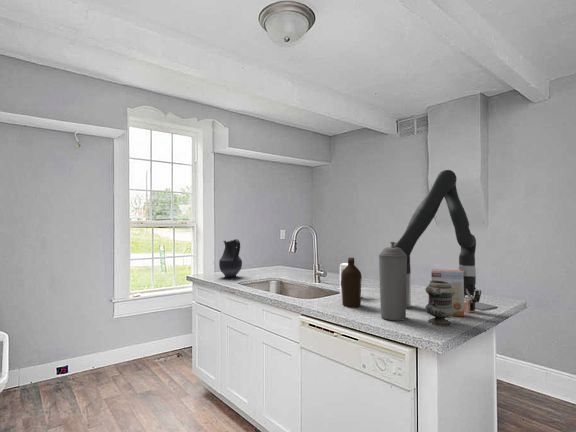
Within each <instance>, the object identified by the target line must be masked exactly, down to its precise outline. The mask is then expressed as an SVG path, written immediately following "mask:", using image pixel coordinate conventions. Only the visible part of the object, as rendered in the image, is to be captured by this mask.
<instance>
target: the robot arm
mask: <svg viewBox="0 0 576 432" xmlns="http://www.w3.org/2000/svg"><path fill="white" fill-rule="evenodd" d="M457 179H458V177H457V175H456V173H455V172H454V171H453V170H451V169H443V170H442V171H440V172H439V173H438V174H437V176H436V178H435V180H434V182H433V184H432V185H431V189H430V190H429V192H428V193H427V194H426V195H425V197H424V198H423V200H422V201H421V202H420V204H419V205H418V206H417V208H416V210H415V211H414V213H413V214H412V215H411V218H410V219H409V222H408V224H407V227H406V229H405V231H404V233H403V234H402V236H401V237H400V238H399V240H397V242H395V243H394V246H395V247H398V248H401V249H402V250H403V252H405V254H406V255H407V282H406V309H407V308H411V307H412V305H411V304H412V302H411V301H412V299H411V298H412V297H411V295H412V286H411V285H412V283H411V281H412V280H411V275H412V274H411V269H412V268H411V254H412V251H413V249H414V247H415V245H416V244H417V242H418V240H419V239H420V237H421V236H422V235H423V234H424V233H425V231H426V230H427V228H428V227H429V225H430V224H431V222H432V221H433V219H434V218H435V216H436V215H437V212H438V210H439V208H440V205H441V203H442V202H443V201H444V200H445V202H446V205H447V209H448V212H449V217H450V219H451V222H452V225H453V228H454V232H455V237H456V238H455V239H456V241H457V243H458V245H459V246H460V253H459V257H458V270H463V272H464V298H465V297H468V298H469V299H470V302H471V303H470V310H471V311H474V310H475V311H476V309H475V303H476V302H480V300H481V296H482V289H481V290H479V289H476V283H477V282H476V281H477V279H476V276H477V273H476V271H477V270H476V250H477V239H476V237H475V235H473V234H472V232H471V229H470V222H469V219H468V216H467V213H466V210H465V208H464V205H463V204H462V202H461V200H460V197H459V193H458V190H457ZM472 299H473V300H472Z"/></svg>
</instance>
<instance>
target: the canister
mask: <svg viewBox="0 0 576 432" xmlns="http://www.w3.org/2000/svg"><path fill="white" fill-rule="evenodd" d="M389 243H390V245H391V246H388V247H385V248H383V249H382V250H381V252H380V253H378V263H379V264H378V268H379V269H378V270H379V271H378V273H379V297H380V299H379V301H380V316H381V318H382V317H383V318H382V319H384V318H385V319H384V320H387V319H390V320H389V321H393V320H399V321H404V320H406V317H407V313H406V312H407V308H406V282H407V255H406V254H405V252H403V250H402V249H401V248H398V247H395V246H394V244H395V243H396V241H390V242H389ZM403 319H404V320H403Z"/></svg>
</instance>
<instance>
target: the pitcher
mask: <svg viewBox="0 0 576 432" xmlns="http://www.w3.org/2000/svg"><path fill="white" fill-rule="evenodd" d="M223 243H224V249H223V252H222V255H221V258H220V259H219V260H218V261H219V263H218V265H219V269H220V270H219V271H220V272H221V273H222V274H223V275H224V279H226V278H229V279H228V280H231V279H230V278H234V279H237V278H238V276H237V275H238V274H239V273H240V271H241V270H242V266H243V260H242V259H241V257H240V251H241V241H240V240H239V239H237V238H236V239H235V238H234V239H231V240H228V241H226V240H223Z"/></svg>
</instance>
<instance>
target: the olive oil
mask: <svg viewBox="0 0 576 432" xmlns="http://www.w3.org/2000/svg"><path fill="white" fill-rule="evenodd" d="M347 263H348V265H347V267H346V268H345V269H344V270H343V271H342V274H341V283H342V296H341V301H342V306H343V305H344V306H343V307H345V306H349V307H348V308H358V307H357V306H359V307H361V306H360V305H362V304H361V303H362V278H363V277H362V273H361V270H360V269H359V268H358V267H357V266H355V265H356V264H355V257H348V258H347ZM354 264H355V265H354Z"/></svg>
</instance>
